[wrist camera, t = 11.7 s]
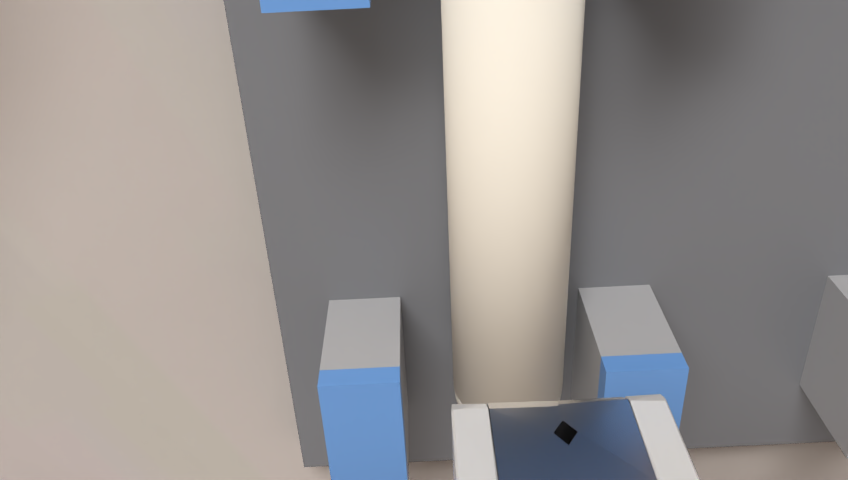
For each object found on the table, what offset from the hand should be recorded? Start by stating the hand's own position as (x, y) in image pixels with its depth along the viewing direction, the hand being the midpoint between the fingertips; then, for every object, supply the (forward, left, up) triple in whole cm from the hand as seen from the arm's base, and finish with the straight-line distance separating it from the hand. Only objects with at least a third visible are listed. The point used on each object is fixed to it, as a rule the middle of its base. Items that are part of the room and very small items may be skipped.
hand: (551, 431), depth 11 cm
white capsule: (0, 0, -8) cm, 9 cm away
